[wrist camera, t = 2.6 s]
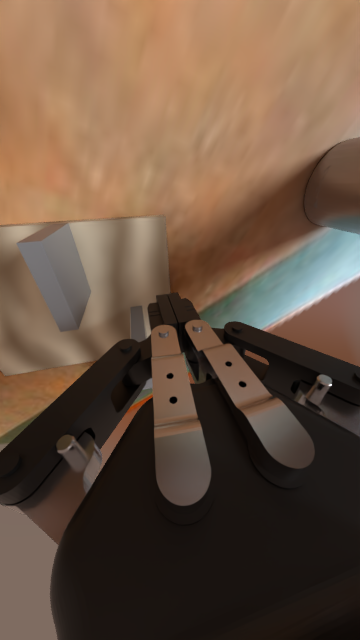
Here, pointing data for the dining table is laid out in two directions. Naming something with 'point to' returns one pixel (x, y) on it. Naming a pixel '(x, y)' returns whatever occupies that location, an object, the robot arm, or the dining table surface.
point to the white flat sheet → (105, 299)
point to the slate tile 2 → (138, 331)
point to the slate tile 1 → (58, 273)
